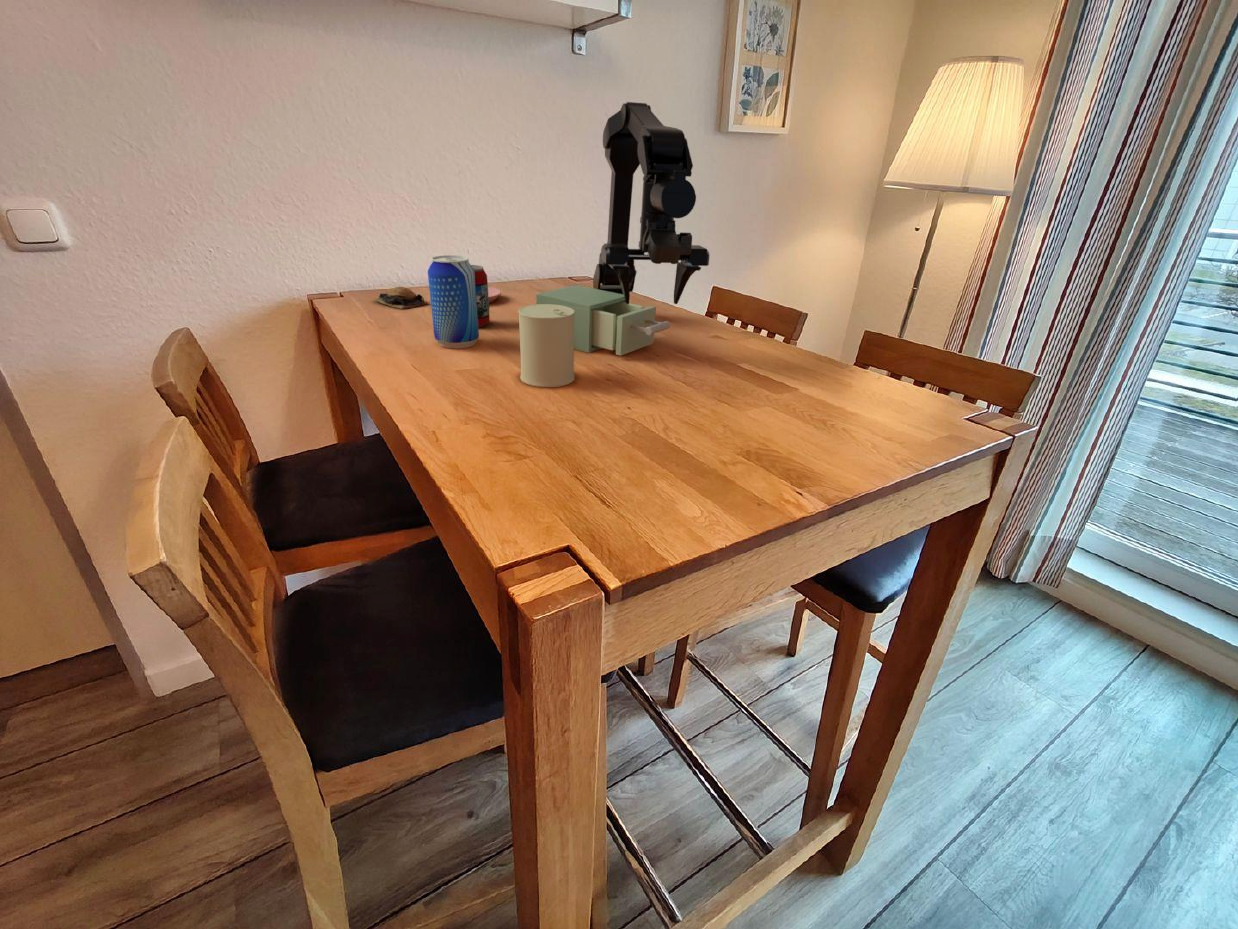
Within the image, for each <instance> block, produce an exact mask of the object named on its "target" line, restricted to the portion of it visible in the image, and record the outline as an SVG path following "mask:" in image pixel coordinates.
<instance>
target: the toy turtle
mask: <svg viewBox="0 0 1238 929" xmlns="http://www.w3.org/2000/svg"><path fill="white" fill-rule="evenodd" d="M374 300H375V302H377V303H379V304H383V305H385V306H389V307H391V308H396V309H400V310H405V309H406V310H407V309H410V308H411V309H413V308H415V307H420V306H425V305H428V303H427V302H426V301H425V298H424V297H423V296H422V295H421V294H419V293H415V292H414V291H413V290H412V289H410V288H408V287H405V286H395V287H391V288H389V289H387V290H386V291H385V293H380V294H379V296H378V297H376V298H375V299H374Z"/></svg>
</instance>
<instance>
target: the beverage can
mask: <svg viewBox="0 0 1238 929" xmlns="http://www.w3.org/2000/svg"><path fill="white" fill-rule="evenodd" d="M470 265H471V266H472V268H473V269H474V272H475V286H476V300H477V315H478V328H482V327H485V326H486V325H488V323H490V320H491V319H490V303H489V298H488V287H489V284H488V283H489V282H488V274H487V273H486V271H485V270H484V266H482V265H477V264H470Z"/></svg>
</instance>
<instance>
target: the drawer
mask: <svg viewBox="0 0 1238 929" xmlns="http://www.w3.org/2000/svg"><path fill="white" fill-rule="evenodd" d="M656 314H657V306H654V305H650V306H649V305H648V306H646V307H645V306H644V305H640V304H636V303H632V302H631V303H630V302H629V304H626V302H617V303H614V304H610V305H606V306H603V307H599V308H595V309H592V343H591V345H594V346H597V347H601V349H604V350H605V349H606V350H608V351H615V355H617V356H619V357H620V356H623V355H626V354H629V353H631V352H634V351H637V350H639V349H641V348H644V347H647V346H650V345H653V344H654V343H655V342H654V341H655V340H654V339H655V334H657V333H660V332H663V331H666V330H668V329H670V327H671V322H670V321H668V320H665V321H657V320H656V316H657V315H656ZM616 317H617V339H616V344H615V331H616Z"/></svg>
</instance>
